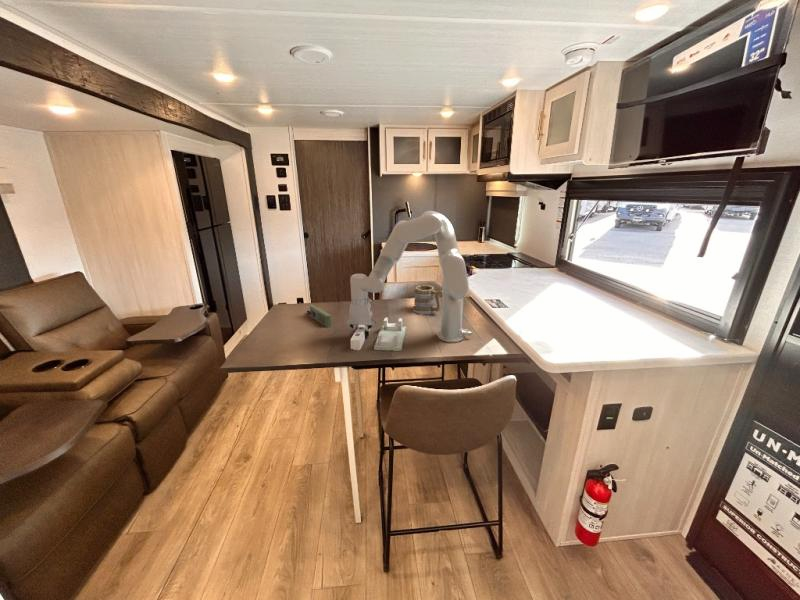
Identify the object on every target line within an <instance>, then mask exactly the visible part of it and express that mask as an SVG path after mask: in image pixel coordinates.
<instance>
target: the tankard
mask: <svg viewBox="0 0 800 600" xmlns="http://www.w3.org/2000/svg"><path fill="white" fill-rule="evenodd" d="M413 295H414V300H413V302H414V305H413V307H412V308H413V309H412V310H413V311H412V312H413V313H415V312H416V313H415V314H417V313H418V314H417V315H420V314H426V315H427V316H429V314H430V315H431V314H435V313H436V312H440V310H441V309H442V301H441V298H440V297H441V296H442V289H440V290H437V291H436V290H435V286H433V285H430V284H420V285H417V286H415V290H414V293H413ZM440 295H441V296H440ZM435 301H436V307H435ZM434 312H435V313H434ZM426 315H425V316H426Z"/></svg>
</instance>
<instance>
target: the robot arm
mask: <svg viewBox="0 0 800 600" xmlns="http://www.w3.org/2000/svg"><path fill="white" fill-rule="evenodd" d="M432 236H434V239H435V243H436V247H437V253H438V261H439V265H440V267H441V270H442V274H443V278H442V281H441V290H442V295H441V296H442V297H441V298H442V299H441V315H440V317H441V318H440V319H441V321H440V330H439V331H437V333H436V334H437V336H436V337H437V338H438V339H439V340H440V341H443V342H446V343H459V342H461V341H463V340H464V339H465V336H472V331H471V330H470V331H469V329H466V328H465V329H464V328H463V326H462V324H463V309H464V298H466V296H467V294H468V292H469V290H470V287H469V279H468V273H467V267H466V265H467V264H466V262H465V259H464V257H463V256H462V255H461V253H460V251H459V246H458V242H457V237H456V233H455V229H454V227H453V225H452V223H451V221H449V219H448V218H447V217H446V216H445V215H443V214H442V213H441V212H438V211H434V210H427V211H426V210H425V211H424V212H423V213H422V214H421V215H420V216H418V217H415V218H412V219H410V220H402V219H401V220H399V221H397V222H396V223H395V225H394V227H393V229H392V231H391V233H390V234H389V236H388V239H387V240H386V242H385V244H384V246H383V247H382V250H381V251H380V254H379V256H378V258H377V260H376V262H375V264H374V266H373V268H372V269H371V272H370V273H369V276H367V274H364V273H354V274H352V275H350V278H349V279H350V282H349V283H350V296H351V302H350V305H349V315H348V316H349V317H348V319H347V321H346V325H347V326H349V328H351V329H352V330H353V334H354V333H355V331H356V329H357V328H358V326H359V325H365V340H366V339H368V337H369V335H370V330H371V329H372V327H375V326H376V324H377V322H376V321H375V320H374V318H373V312H372V306H371V305H372V304H371V302H372V298H369V293H375V294H376V293H380V292H382V291H383V289H384V287H385V281H386V279H387V277H388V275H389V273H390V271H391V270H392V268H394V265H396V263H397V264H398V262H399V261H400V259H401V257H402V256H403V253H404V252H405V250H406V249H407V246H409V244H410V243H414V242H416V241H420V240H422V239H425V238H426V239H427V238H429V237H432ZM369 329H370V330H369Z"/></svg>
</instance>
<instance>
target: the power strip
mask: <svg viewBox="0 0 800 600" xmlns="http://www.w3.org/2000/svg"><path fill="white" fill-rule="evenodd" d="M369 331H371V328H370V329H369ZM365 340H366V339H365V325H357V329H356V331H355V333H354V332H353V335H352V337H351V338H350V350H351V349H353V350H352V351H360V350H361V348H362V347H363V345H364V343H365Z"/></svg>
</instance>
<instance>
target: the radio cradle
mask: <svg viewBox="0 0 800 600" xmlns="http://www.w3.org/2000/svg"><path fill="white" fill-rule="evenodd" d="M406 330H407V327H406V326H403V317H402V318H401V317H400V318H398V320H397V323H394V322H393V323H392V322H391V323H390V322H389V318H388V317H385V318H384V319H383V325H381V327H380V330H379V332H378V334H377V339H376V340H375V343H374V346H373V350H375V351H376V350H377V351H391V350H393V351H396V352H402V350H403V344H404V341H405V334H406Z"/></svg>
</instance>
